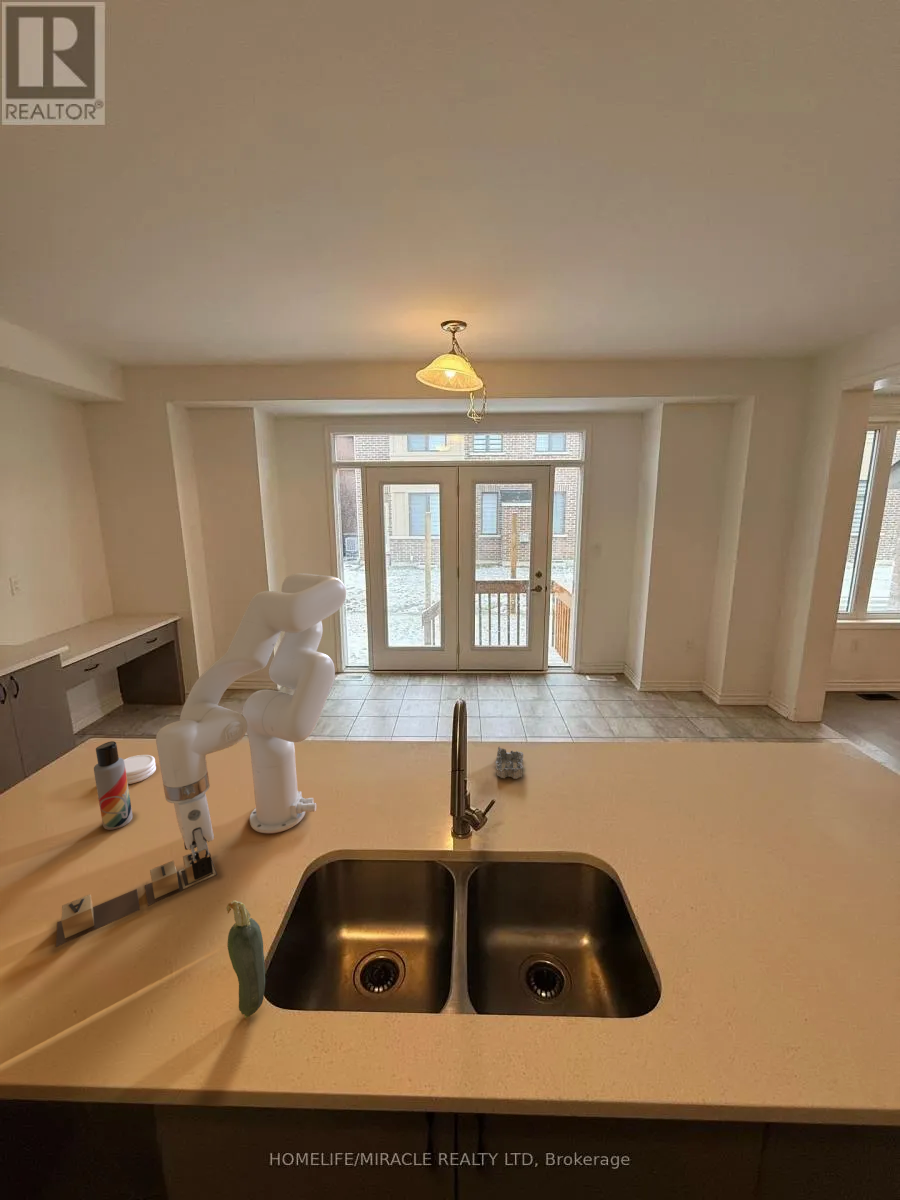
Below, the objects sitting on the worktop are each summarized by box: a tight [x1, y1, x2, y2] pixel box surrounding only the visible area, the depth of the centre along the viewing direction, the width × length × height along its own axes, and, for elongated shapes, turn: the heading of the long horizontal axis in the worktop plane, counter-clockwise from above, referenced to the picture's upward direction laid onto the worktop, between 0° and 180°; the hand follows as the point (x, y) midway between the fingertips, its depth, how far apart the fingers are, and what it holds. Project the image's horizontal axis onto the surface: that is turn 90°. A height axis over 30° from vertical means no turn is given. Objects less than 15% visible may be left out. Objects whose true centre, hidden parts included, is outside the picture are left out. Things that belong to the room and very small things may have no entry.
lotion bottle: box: [93, 740, 133, 831], centre depth 106 cm, size 6×6×20 cm
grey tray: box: [144, 857, 219, 907], centre depth 91 cm, size 12×6×4 cm, turn 128°
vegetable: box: [225, 899, 266, 1020], centre depth 65 cm, size 4×4×20 cm
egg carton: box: [495, 746, 524, 780], centre depth 130 cm, size 11×8×4 cm
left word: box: [55, 888, 141, 948], centre depth 83 cm, size 12×6×4 cm, turn 128°
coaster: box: [123, 754, 157, 785], centre depth 127 cm, size 10×10×4 cm
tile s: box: [182, 850, 211, 884], centre depth 92 cm, size 4×4×4 cm
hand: (198, 860), depth 93 cm, fingers open, 9 cm apart
